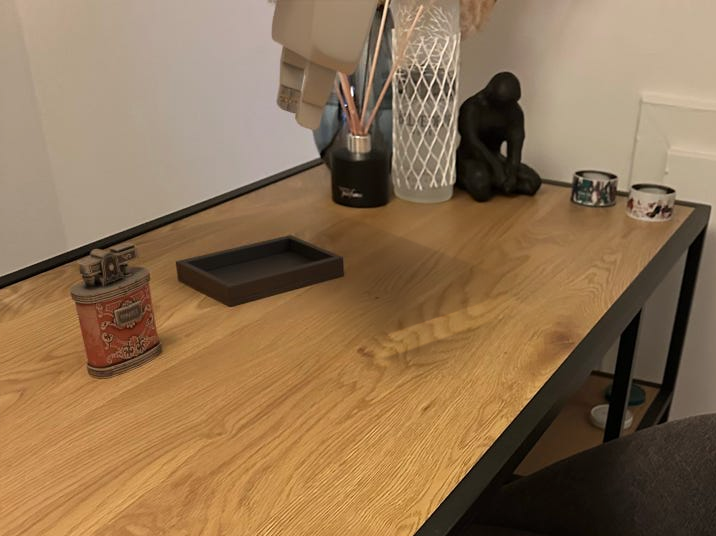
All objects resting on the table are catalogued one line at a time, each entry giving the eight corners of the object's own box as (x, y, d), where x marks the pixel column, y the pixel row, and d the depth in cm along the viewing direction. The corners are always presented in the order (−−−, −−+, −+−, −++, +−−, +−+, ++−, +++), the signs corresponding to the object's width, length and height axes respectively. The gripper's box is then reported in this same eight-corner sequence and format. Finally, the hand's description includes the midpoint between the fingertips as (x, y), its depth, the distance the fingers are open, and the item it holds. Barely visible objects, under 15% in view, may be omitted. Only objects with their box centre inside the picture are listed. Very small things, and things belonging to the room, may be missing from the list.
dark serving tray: (177, 280, 103) (175, 261, 101) (291, 252, 112) (290, 234, 110) (230, 307, 98) (228, 286, 96) (344, 275, 107) (343, 257, 106)
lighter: (107, 381, 83) (83, 267, 77) (79, 372, 84) (53, 258, 78) (170, 351, 89) (153, 242, 82) (143, 343, 90) (124, 234, 83)
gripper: (274, -91, 79) (242, 90, 85) (320, -98, 63) (277, 124, 70) (345, -60, 81) (309, 113, 88) (407, -59, 66) (358, 151, 73)
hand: (295, 118), depth 79 cm, fingers open, 8 cm apart
